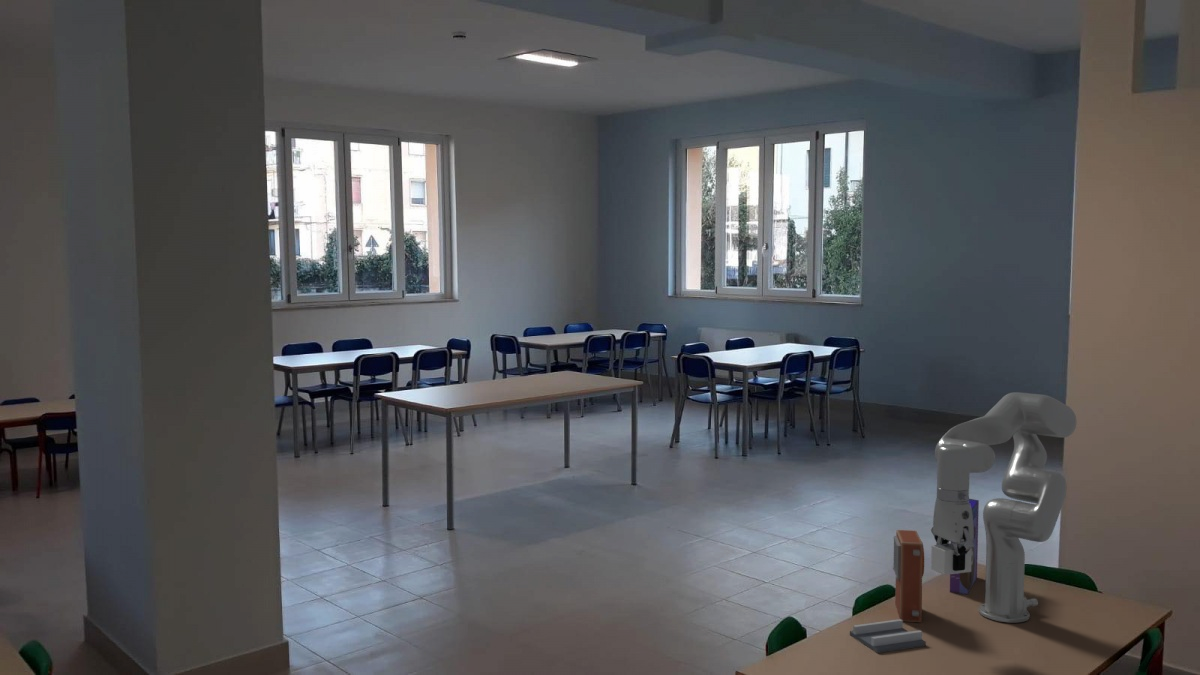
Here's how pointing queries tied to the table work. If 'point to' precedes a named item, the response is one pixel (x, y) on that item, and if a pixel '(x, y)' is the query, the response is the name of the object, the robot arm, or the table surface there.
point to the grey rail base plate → (887, 636)
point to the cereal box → (966, 580)
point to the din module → (947, 559)
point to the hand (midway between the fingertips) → (951, 565)
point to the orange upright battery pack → (908, 574)
